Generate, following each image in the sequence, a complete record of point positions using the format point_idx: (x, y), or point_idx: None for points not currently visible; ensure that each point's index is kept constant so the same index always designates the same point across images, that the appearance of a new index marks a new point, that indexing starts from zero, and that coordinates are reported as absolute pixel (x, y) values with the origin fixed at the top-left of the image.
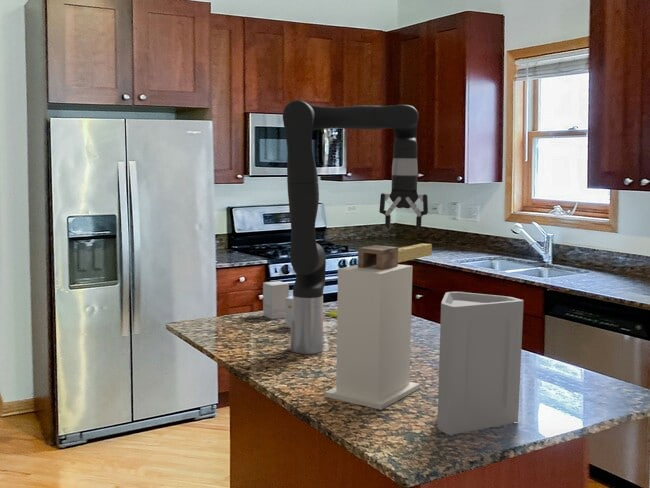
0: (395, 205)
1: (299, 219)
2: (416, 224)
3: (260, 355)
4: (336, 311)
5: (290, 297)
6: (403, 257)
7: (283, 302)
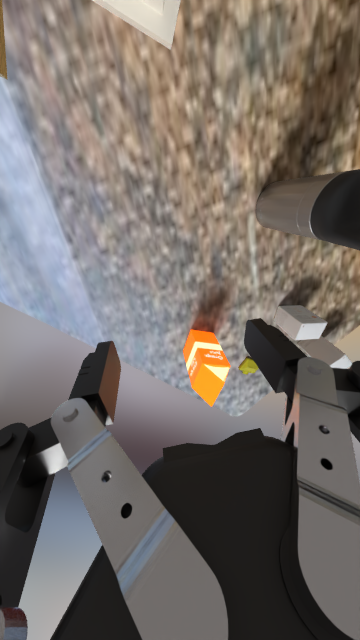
0: (307, 438)
1: None
2: (106, 355)
3: (337, 152)
4: (252, 367)
5: (321, 327)
6: None
7: (314, 349)
